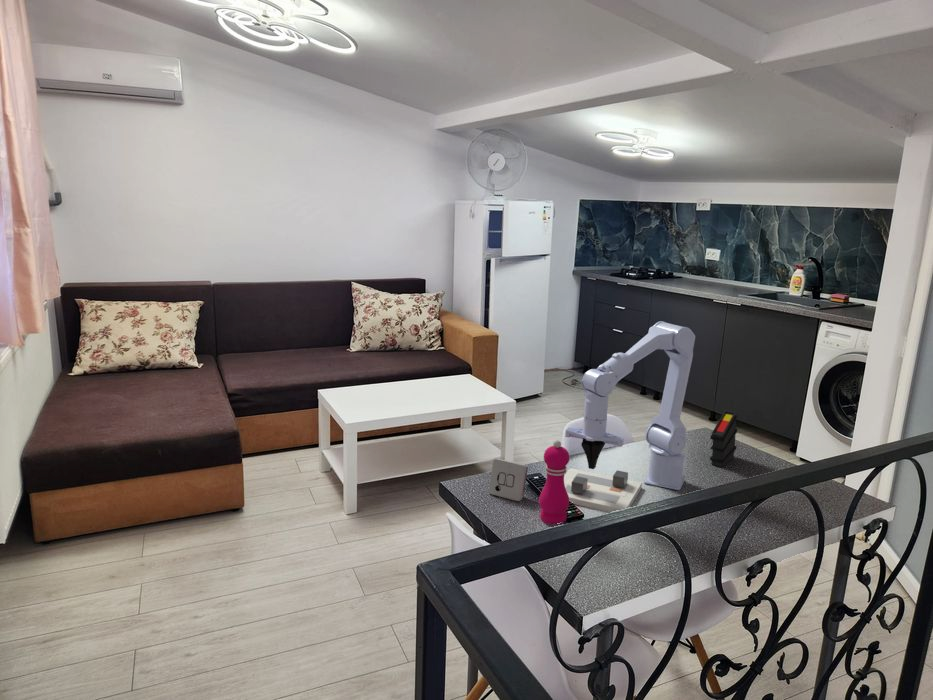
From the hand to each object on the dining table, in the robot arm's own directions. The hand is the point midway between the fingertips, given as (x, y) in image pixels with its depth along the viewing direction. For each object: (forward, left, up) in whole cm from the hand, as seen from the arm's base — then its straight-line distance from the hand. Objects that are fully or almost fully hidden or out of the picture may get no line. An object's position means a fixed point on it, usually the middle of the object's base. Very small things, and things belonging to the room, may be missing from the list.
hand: (592, 467), depth 168 cm
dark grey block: (-6, -8, -6) cm, 12 cm away
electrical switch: (+20, +9, -9) cm, 23 cm away
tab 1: (+3, +1, -6) cm, 7 cm away
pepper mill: (+5, +16, -9) cm, 18 cm away
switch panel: (0, -3, -8) cm, 9 cm away
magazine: (-27, -42, -9) cm, 51 cm away
